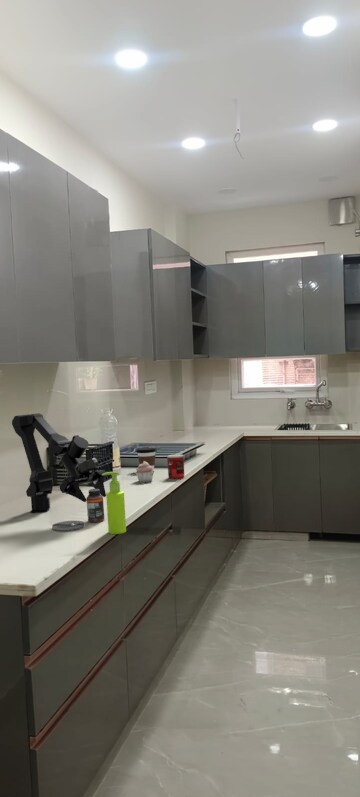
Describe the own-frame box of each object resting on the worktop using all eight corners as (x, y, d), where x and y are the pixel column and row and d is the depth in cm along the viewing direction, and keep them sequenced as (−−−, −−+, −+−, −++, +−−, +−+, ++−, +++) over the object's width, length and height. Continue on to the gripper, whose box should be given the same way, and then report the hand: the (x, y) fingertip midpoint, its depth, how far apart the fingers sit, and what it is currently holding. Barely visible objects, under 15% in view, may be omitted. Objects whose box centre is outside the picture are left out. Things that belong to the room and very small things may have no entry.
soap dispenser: (106, 529, 207) (103, 471, 206) (127, 528, 207) (123, 470, 206) (104, 534, 201) (100, 474, 200) (125, 533, 201) (121, 473, 200)
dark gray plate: (49, 532, 207) (49, 529, 207) (55, 524, 218) (54, 521, 218) (82, 530, 208) (82, 527, 208) (86, 522, 219) (85, 519, 219)
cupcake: (135, 480, 299) (134, 460, 299) (154, 479, 300) (153, 458, 299) (135, 483, 290) (134, 462, 290) (155, 482, 291) (153, 461, 290)
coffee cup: (143, 469, 332) (141, 447, 332) (161, 469, 328) (160, 447, 327) (133, 472, 322) (132, 450, 322) (152, 473, 318) (151, 450, 317)
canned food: (169, 476, 305) (168, 454, 304) (185, 476, 304) (184, 454, 303) (167, 479, 297) (166, 456, 297) (183, 478, 296) (182, 456, 296)
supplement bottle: (96, 518, 225) (94, 487, 224) (108, 519, 221) (106, 488, 220) (84, 521, 220) (82, 490, 219) (95, 523, 216) (93, 492, 216)
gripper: (62, 455, 216) (84, 489, 209) (102, 448, 230) (124, 479, 223) (50, 476, 221) (71, 509, 214) (90, 468, 235) (111, 499, 228)
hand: (95, 498), depth 220 cm, fingers open, 9 cm apart
